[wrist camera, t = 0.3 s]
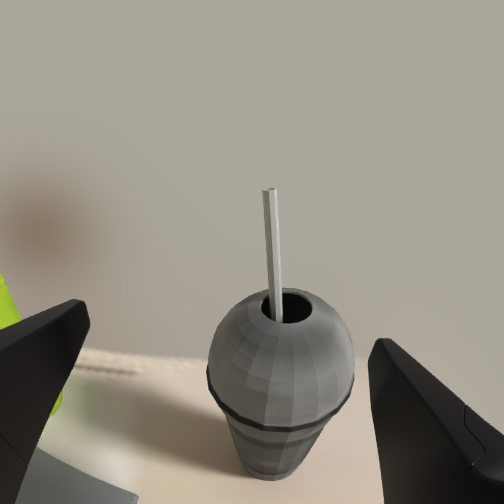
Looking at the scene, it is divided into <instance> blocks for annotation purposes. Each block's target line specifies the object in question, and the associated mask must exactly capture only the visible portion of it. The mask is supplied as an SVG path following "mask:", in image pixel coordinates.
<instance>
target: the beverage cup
mask: <svg viewBox="0 0 504 504" xmlns="http://www.w3.org/2000/svg"><path fill="white" fill-rule="evenodd" d="M262 192H263V206H264V221H265V234H266V235H265V236H266V251H267V266H268V283H269V289H267V290H264V291H261V292H258V293H255V294H253V295H251V296H248V297H247V298H245V299H244V300H242V301H241V302H239V303H238V304H237V305H235V306H234V307H233V308H232V309H231V310H230V311H229V313H228V314H227V315H226V316H225V317H224V319H223V320H222V321H221V323H220V324H219V326H218V327H217V329H216V332H215V334H214V337H213V341H212V344H211V347H210V351H209V357H208V365H207V370H206V374H207V381H208V388H209V391H210V393H211V394H212V396H213V398H214V399H215V401H216V402H217V404H218V406H219V407H220V408H221V410H222V411H223V413H224V414H225V416H226V419H227V422H228V425H229V428H230V431H231V434H232V436H233V439H234V442H235V445H236V448H237V451H238V453H239V456H240V459H241V460H242V462H243V464H244V466H245V468H246V469H247V471H248V472H249V473H250V474H252V475H253V476H254V477H256V478H259V479H262V480H267V481H276V480H280V479H284V478H286V477H287V476H289V475H291V474H292V473H293V472H294V471H295V470H296V469H297V467H298V466H299V465H300V464H301V463H302V461H303V460H304V458H305V457H306V455H307V454H308V452H309V451H310V449H311V447H312V446H313V444H314V443H315V441H316V439H317V438H318V436H319V435H320V433H321V431H322V430H323V428H324V426H325V425H326V424H327V423H328V421H329V420H330V419H331V418H332V417H333V416H334V415H335V414H337V413H338V411H339V410H340V409H341V407H342V406H343V405H344V404H345V402H346V401H347V400H348V398H349V397H350V394H351V390H352V386H353V382H354V367H355V355H354V350H353V344H352V340H351V335H350V332H349V330H348V328H347V326H346V325H345V323H344V322H343V320H342V318H341V317H340V315H339V314H338V313H337V312H336V311H335V309H334V308H332V307H331V306H330V305H329V304H327V303H326V302H325V301H324V300H323V299H321V298H319V297H317V296H315V295H313V294H311V293H309V292H307V291H302V290H298V289H294V288H282V287H281V264H280V243H279V226H278V225H279V224H278V207H277V193H276V188H265V189H262Z"/></svg>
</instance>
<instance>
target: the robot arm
mask: <svg viewBox="0 0 504 504" xmlns="http://www.w3.org/2000/svg"><path fill="white" fill-rule="evenodd" d="M89 328H90V319H89V315H88V311H87V307H86V304H85V302H84V301H82V300H77V299H72V300H69V301H67V302H64V303H62V304H60V305H57V306H55V307H52V308H50V309H47V310H45V311H43V312H40V313H38V314H36V315H33V316H31V317H28V318H26V319H24V320H21V321H19V322H17V323H14V324H12V325H10V326H7V327H5V328H3V329H0V504H15V503H16V500H17V497H18V494H19V491H20V488H21V485H22V482H23V479H24V477H25V474H26V471H27V469H28V465H29V463H30V461H31V458H32V456H33V453H34V451H35V448H36V446H37V443H38V441H39V439H40V436H41V434H42V432H43V429H44V427H45V425H46V423H47V420H48V418H49V416H50V414H51V412H52V410H53V407H54V405H55V403H56V401H57V399H58V397H59V395H60V393H61V391H62V389H63V387H64V385H65V383H66V381H67V379H68V377H69V375H70V373H71V371H72V369H73V367H74V365H75V362H76V360H77V358H78V355H79V353H80V350H81V348H82V345H83V343H84V341H85V338H86V336H87V333H88V331H89ZM368 374H369V387H370V402H371V411H372V417H373V423H374V429H375V435H376V442H377V448H378V455H379V462H380V470H381V478H382V486H383V496H384V504H504V435H503V434H502V433H500V432H499V431H498V430H496V429H495V428H494V427H493V426H491V425H490V424H489V423H487V422H486V421H485V420H484V419H483V418H481V417H480V416H479V415H478V414H477V413H475V412H474V411H473V410H472V409H471V408H470V407H469V406H468V405H465V403H464V402H463V401H462V400H461V399H460V398H459V397H457V396H456V395H455V394H454V393H453V392H452V391H451V390H450V389H448V388H447V387H446V386H445V385H444V384H443V383H441V382H440V381H439V380H438V379H437V378H436V377H435V376H433V375H432V374H431V373H430V372H429V371H428V370H427V369H425V368H424V367H423V366H422V365H421V364H420V363H419V362H417V361H416V360H415V359H414V358H413V357H411V356H410V355H409V354H408V353H407V352H406V351H405V350H403V349H402V348H401V347H400V346H399V345H397V344H396V343H395V342H394V341H393V340H392V339H389V338H378V339H377V340H376V342H375V344H374V347H373V349H372V352H371V355H370V356H369V359H368Z"/></svg>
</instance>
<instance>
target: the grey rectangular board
mask: <svg viewBox="0 0 504 504" xmlns="http://www.w3.org/2000/svg"><path fill="white" fill-rule="evenodd" d="M138 497H139V496H137V495H136V494H134V493H131V492H129V491H126V490H123V489H121V488H118V487H116V486H113V485H111V484H108V483H106V482H103V481H101V480H99V479H96V478H94V477H92V476H90V475H88V474H85V473H83V472H81V471H79V470H77V469H75V468H73V467H71V466H69V465H67V464H65V463H63V462H61V461H60V460H58V459H56V458H54V457H52V456H51V455H49V454H47V453H45V452H44V451H42V450H40V449H38V448H37V447H36V448H35V451H34V453H33V456H32V458H31V461H30V463H29V465H28V469H27V471H26V474H25V477H24V479H23V482H22V485H21V488H20V491H19V494H18V497H17V500H16V503H15V504H136V503H137V500H138Z"/></svg>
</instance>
